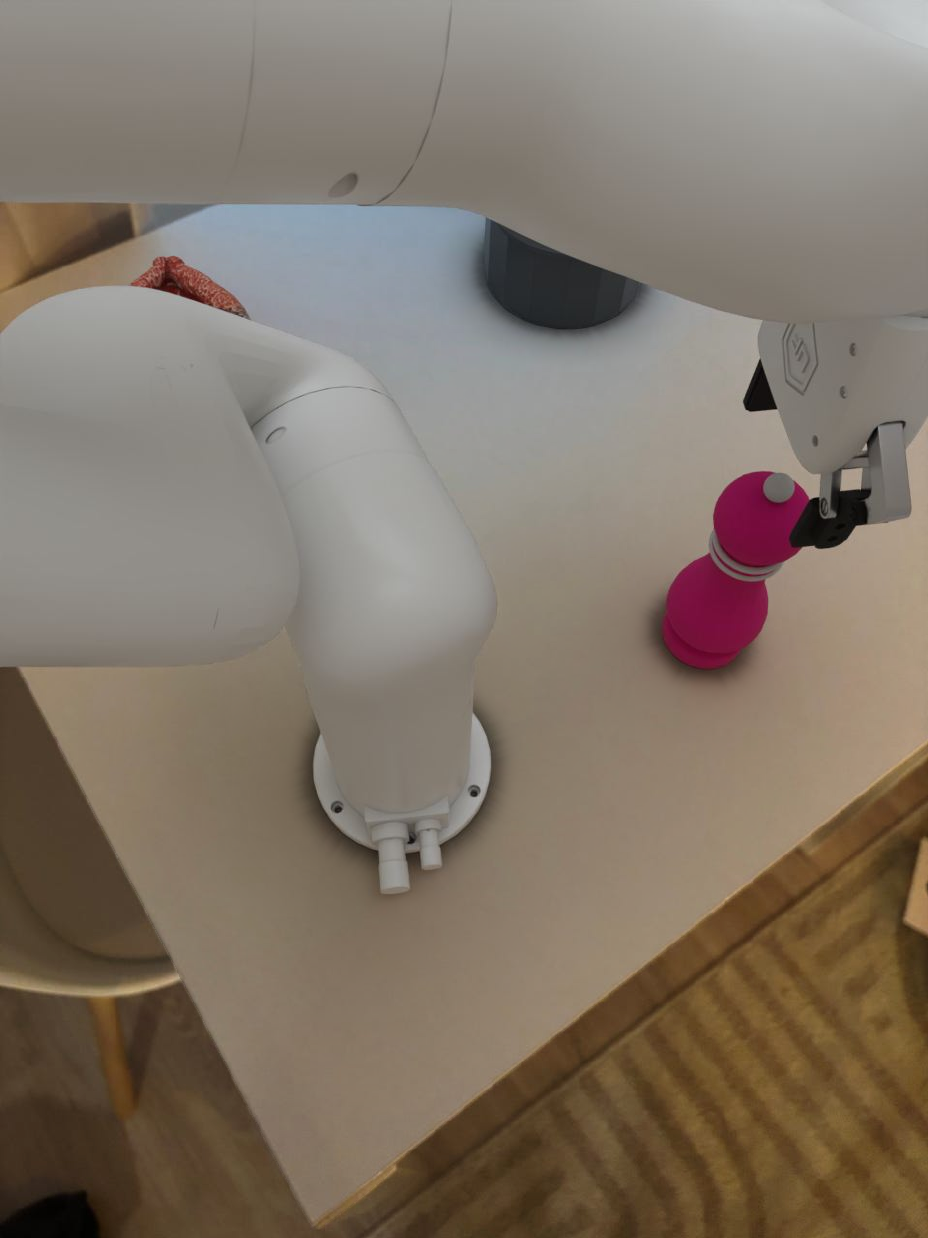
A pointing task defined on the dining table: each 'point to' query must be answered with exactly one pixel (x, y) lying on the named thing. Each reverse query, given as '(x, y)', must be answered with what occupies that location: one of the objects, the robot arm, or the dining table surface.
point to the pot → (552, 285)
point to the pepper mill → (733, 570)
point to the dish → (188, 285)
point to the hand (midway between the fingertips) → (790, 470)
